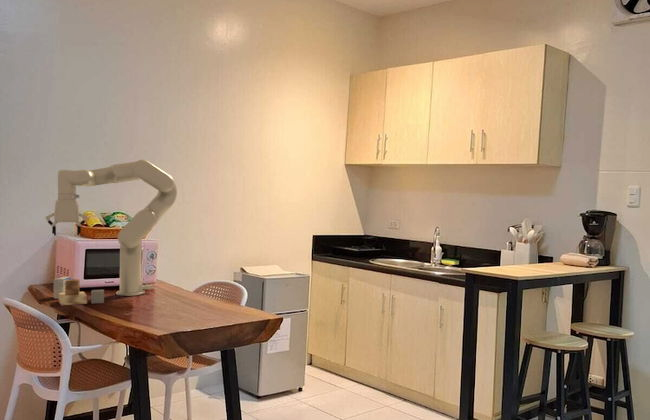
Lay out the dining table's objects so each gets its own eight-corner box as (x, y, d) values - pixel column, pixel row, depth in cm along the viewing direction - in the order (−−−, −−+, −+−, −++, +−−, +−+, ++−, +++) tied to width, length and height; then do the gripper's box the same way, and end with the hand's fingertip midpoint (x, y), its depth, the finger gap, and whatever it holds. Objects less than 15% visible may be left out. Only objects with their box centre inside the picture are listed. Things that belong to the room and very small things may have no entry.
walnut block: (79, 292, 251) (79, 279, 251) (78, 294, 246) (78, 280, 246) (66, 293, 249) (66, 279, 249) (65, 295, 245) (65, 281, 245)
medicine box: (63, 298, 256) (63, 279, 256) (53, 298, 256) (53, 279, 256) (71, 295, 264) (71, 276, 264) (61, 295, 264) (61, 276, 264)
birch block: (83, 300, 255) (83, 291, 255) (86, 304, 246) (86, 295, 246) (58, 302, 250) (58, 293, 250) (61, 306, 241) (61, 296, 241)
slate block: (104, 301, 253) (104, 289, 253) (103, 303, 248) (103, 291, 248) (91, 301, 251) (91, 290, 251) (91, 303, 246) (91, 291, 246)
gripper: (87, 197, 270) (87, 234, 270) (45, 197, 263) (45, 234, 263) (87, 197, 263) (87, 235, 263) (45, 197, 256) (45, 236, 256)
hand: (66, 235), depth 263 cm, fingers open, 9 cm apart
